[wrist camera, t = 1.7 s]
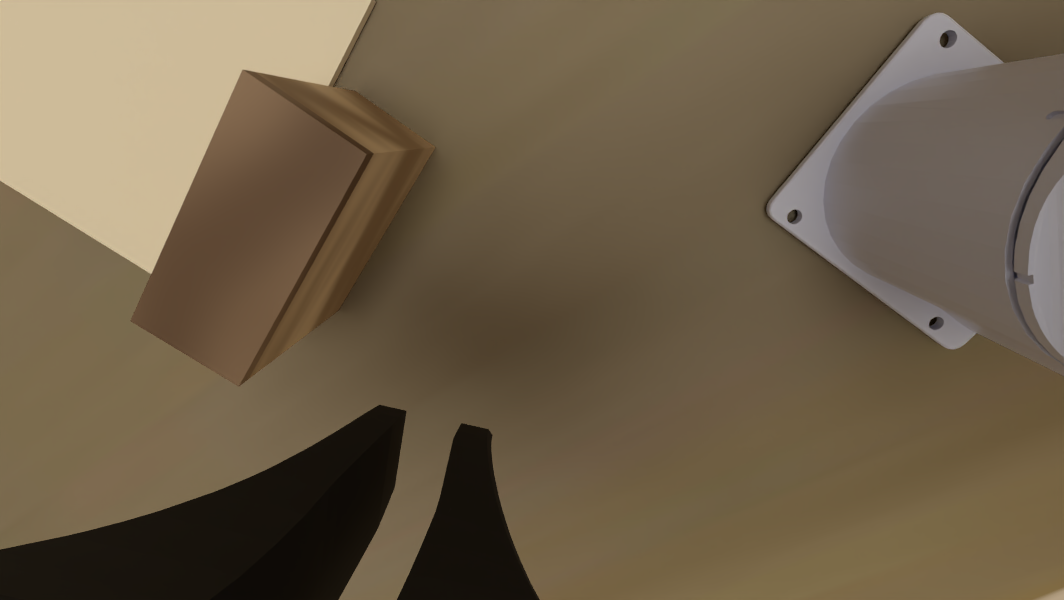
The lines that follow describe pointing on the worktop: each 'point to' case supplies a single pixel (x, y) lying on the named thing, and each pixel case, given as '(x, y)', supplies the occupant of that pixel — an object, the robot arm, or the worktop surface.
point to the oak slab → (277, 221)
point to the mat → (142, 98)
